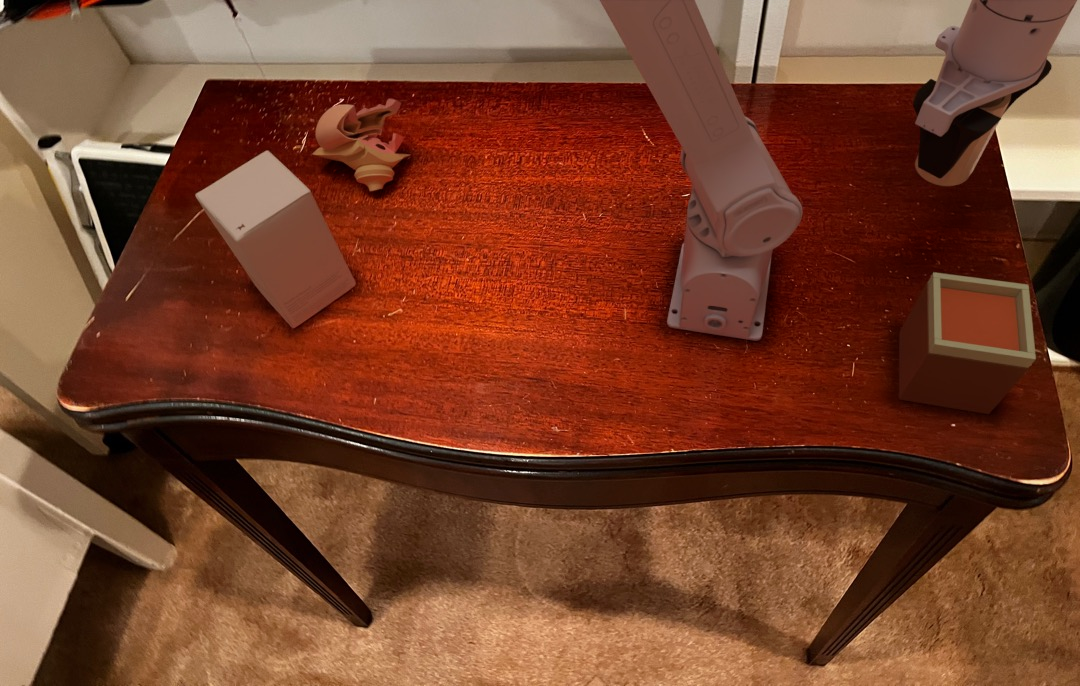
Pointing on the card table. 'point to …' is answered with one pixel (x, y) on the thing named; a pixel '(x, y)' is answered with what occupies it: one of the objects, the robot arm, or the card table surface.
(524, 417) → the card table surface
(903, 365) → the holder
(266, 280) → the white packaging box
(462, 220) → the card table surface
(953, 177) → the beige hollow cylinder
